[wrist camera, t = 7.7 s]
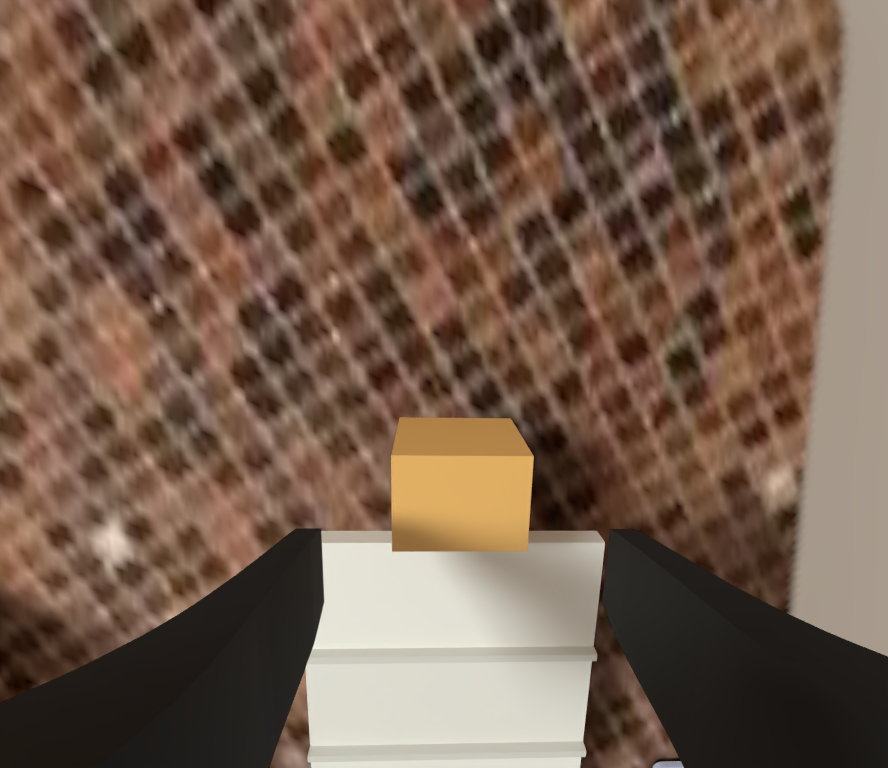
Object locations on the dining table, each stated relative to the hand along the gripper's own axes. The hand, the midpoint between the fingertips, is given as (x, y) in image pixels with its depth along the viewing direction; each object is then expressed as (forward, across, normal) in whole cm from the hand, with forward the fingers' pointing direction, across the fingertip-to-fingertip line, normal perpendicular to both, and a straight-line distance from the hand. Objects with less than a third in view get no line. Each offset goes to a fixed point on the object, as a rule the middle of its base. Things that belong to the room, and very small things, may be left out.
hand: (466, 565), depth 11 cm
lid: (+6, 0, +7) cm, 9 cm away
